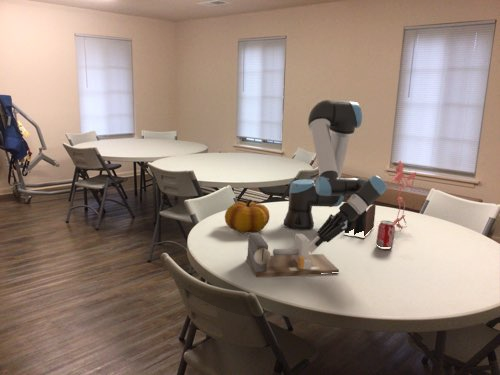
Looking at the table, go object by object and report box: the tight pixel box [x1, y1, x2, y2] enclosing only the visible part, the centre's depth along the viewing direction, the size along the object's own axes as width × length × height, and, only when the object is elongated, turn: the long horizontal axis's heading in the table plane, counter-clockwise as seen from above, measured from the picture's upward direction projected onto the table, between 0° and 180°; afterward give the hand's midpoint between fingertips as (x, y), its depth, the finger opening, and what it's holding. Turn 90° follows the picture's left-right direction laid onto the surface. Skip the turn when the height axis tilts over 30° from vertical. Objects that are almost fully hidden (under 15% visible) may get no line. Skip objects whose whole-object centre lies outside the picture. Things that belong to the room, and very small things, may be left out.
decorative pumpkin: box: [224, 199, 270, 234], centre depth 204 cm, size 20×22×15 cm
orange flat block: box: [298, 256, 304, 269], centre depth 159 cm, size 1×3×4 cm, turn 13°
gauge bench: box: [246, 232, 340, 278], centre depth 164 cm, size 33×16×12 cm, turn 103°
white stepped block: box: [272, 233, 312, 269], centre depth 162 cm, size 12×12×10 cm
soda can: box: [376, 220, 396, 248], centre depth 191 cm, size 7×7×12 cm
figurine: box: [388, 160, 417, 228], centre depth 224 cm, size 15×26×35 cm, turn 143°
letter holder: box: [344, 203, 377, 236], centre depth 212 cm, size 10×20×14 cm, turn 152°
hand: (308, 250), depth 165 cm, fingers closed
